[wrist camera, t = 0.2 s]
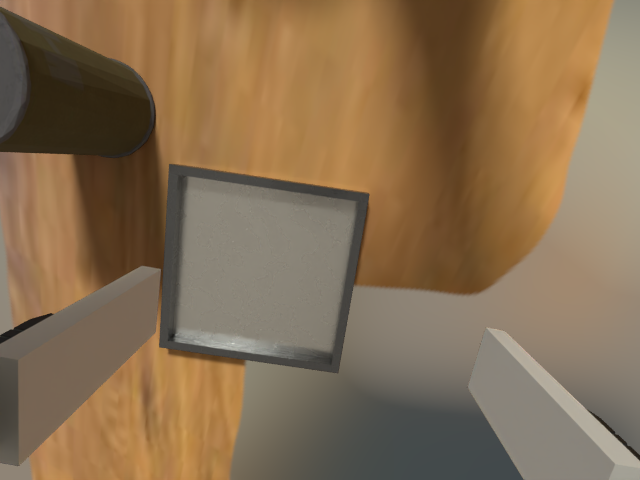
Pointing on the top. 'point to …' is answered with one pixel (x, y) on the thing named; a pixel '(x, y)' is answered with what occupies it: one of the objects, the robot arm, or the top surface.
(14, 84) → the canister
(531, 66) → the top surface
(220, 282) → the shallow grey tray
